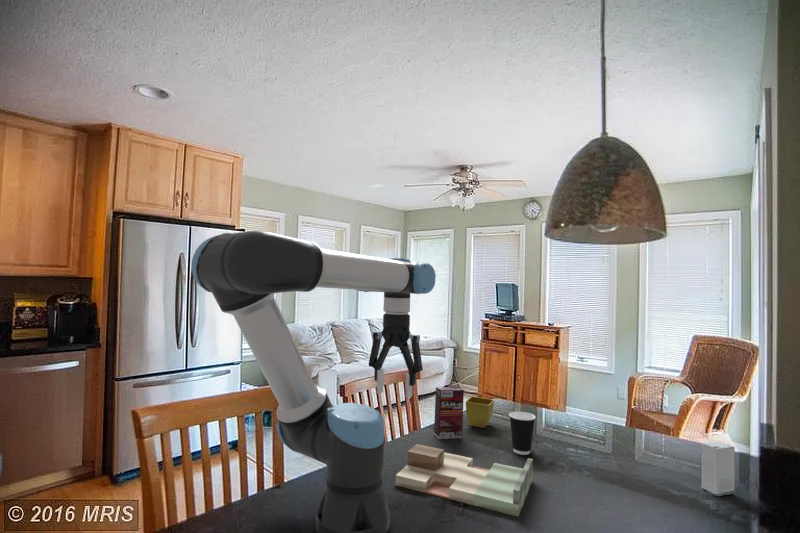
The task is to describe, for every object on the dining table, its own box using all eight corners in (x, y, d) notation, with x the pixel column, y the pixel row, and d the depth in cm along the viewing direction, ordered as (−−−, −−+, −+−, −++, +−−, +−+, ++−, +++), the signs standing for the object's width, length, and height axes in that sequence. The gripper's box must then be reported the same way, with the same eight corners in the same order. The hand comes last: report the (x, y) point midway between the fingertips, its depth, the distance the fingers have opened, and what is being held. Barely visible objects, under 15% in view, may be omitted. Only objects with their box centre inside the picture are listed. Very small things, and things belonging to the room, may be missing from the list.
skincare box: (717, 487, 111) (717, 440, 112) (736, 495, 107) (735, 446, 107) (700, 490, 109) (700, 441, 110) (717, 498, 105) (717, 448, 106)
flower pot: (494, 424, 158) (494, 399, 158) (488, 431, 150) (489, 404, 150) (470, 420, 161) (471, 396, 162) (464, 426, 153) (465, 401, 154)
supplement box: (438, 440, 139) (439, 390, 140) (433, 434, 144) (434, 387, 145) (463, 438, 142) (464, 389, 142) (457, 433, 146) (458, 386, 147)
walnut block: (435, 471, 110) (436, 457, 110) (407, 464, 113) (407, 451, 113) (443, 462, 115) (444, 449, 115) (416, 456, 119) (416, 444, 119)
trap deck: (518, 516, 94) (518, 491, 94) (395, 485, 107) (396, 462, 107) (532, 480, 112) (532, 459, 112) (425, 457, 125) (426, 438, 125)
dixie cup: (503, 448, 134) (503, 412, 134) (524, 445, 137) (525, 410, 137) (518, 458, 126) (518, 420, 127) (540, 455, 129) (541, 418, 130)
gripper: (436, 314, 119) (434, 397, 118) (370, 310, 128) (367, 387, 127) (426, 316, 112) (424, 403, 111) (357, 311, 121) (354, 392, 120)
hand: (394, 394), depth 119 cm, fingers open, 8 cm apart
